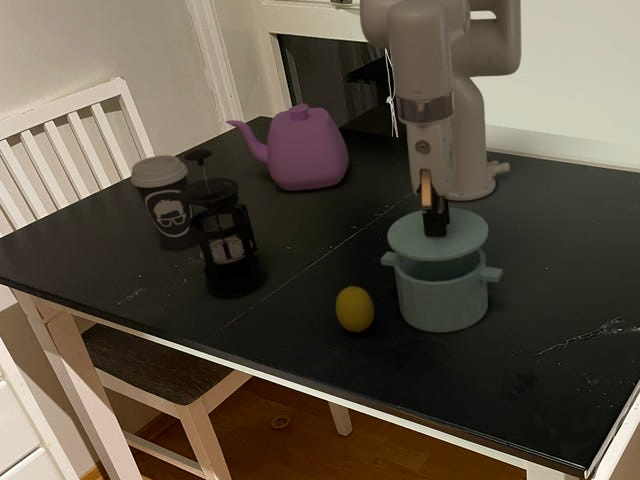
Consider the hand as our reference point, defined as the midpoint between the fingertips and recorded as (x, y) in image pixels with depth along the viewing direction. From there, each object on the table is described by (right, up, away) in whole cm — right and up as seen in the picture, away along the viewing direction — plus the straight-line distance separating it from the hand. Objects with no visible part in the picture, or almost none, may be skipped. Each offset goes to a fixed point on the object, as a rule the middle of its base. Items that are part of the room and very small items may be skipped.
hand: (437, 228), depth 107 cm
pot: (+1, -11, +8) cm, 13 cm away
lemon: (-12, -15, +4) cm, 20 cm away
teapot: (-30, +19, +49) cm, 61 cm away
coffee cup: (-49, +3, +30) cm, 58 cm away
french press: (-35, -6, +17) cm, 39 cm away
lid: (0, -1, +1) cm, 1 cm away
